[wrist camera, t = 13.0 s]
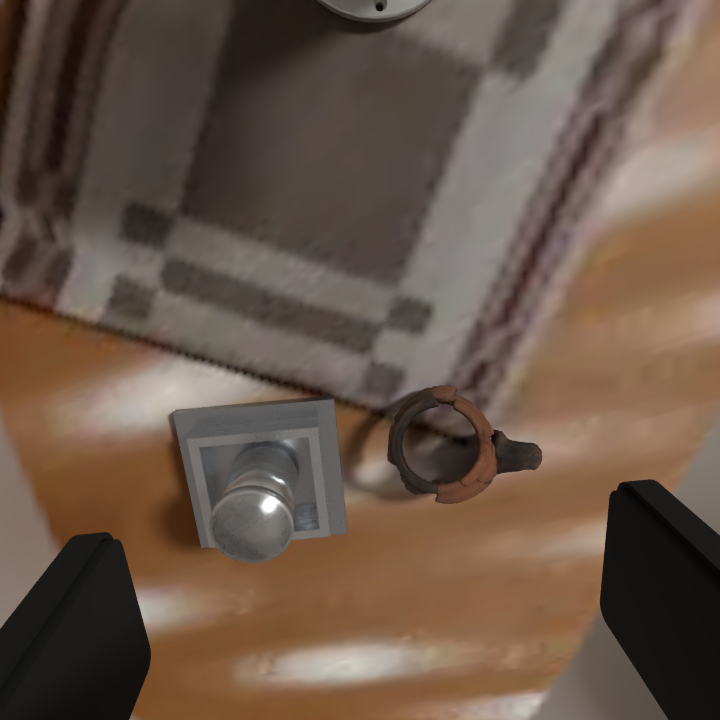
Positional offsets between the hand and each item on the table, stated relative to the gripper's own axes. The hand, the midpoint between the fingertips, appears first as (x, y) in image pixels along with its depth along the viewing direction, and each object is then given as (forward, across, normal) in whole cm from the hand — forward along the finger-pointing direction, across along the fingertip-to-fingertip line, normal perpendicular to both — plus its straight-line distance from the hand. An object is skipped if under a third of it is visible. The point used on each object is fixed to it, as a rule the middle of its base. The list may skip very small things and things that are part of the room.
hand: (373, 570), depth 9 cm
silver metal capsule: (+30, +8, +15) cm, 34 cm away
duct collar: (+30, +8, +15) cm, 35 cm away
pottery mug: (+31, -8, +13) cm, 34 cm away
